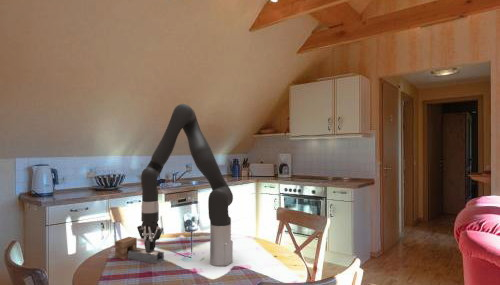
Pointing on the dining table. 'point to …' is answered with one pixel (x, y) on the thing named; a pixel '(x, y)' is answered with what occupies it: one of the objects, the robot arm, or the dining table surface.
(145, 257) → the metal channel
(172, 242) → the dining table surface
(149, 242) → the grey slider with post
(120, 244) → the walnut socket block
